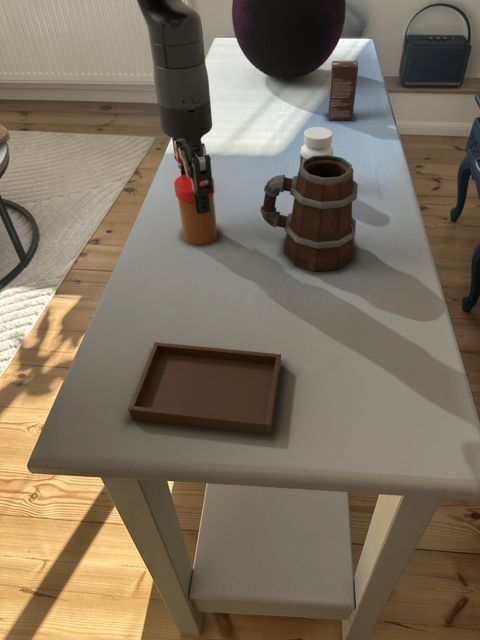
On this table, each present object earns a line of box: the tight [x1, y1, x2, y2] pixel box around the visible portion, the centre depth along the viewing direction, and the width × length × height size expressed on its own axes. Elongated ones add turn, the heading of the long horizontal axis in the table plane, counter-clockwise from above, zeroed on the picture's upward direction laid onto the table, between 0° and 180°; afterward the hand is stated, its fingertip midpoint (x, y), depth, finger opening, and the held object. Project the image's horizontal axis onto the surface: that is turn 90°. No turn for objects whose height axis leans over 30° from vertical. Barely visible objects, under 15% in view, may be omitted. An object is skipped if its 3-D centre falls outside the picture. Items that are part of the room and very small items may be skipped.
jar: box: [177, 194, 218, 246], centre depth 82 cm, size 6×6×10 cm
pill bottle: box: [299, 126, 334, 166], centre depth 92 cm, size 6×6×11 cm
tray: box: [127, 341, 282, 436], centre depth 61 cm, size 17×11×2 cm, turn 82°
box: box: [327, 60, 359, 121], centre depth 115 cm, size 6×4×12 cm
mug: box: [259, 155, 359, 272], centre depth 77 cm, size 16×12×15 cm
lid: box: [173, 174, 216, 203], centre depth 79 cm, size 6×6×2 cm
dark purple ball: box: [231, 0, 347, 80], centre depth 128 cm, size 30×30×30 cm
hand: (196, 200), depth 81 cm, fingers open, 7 cm apart
